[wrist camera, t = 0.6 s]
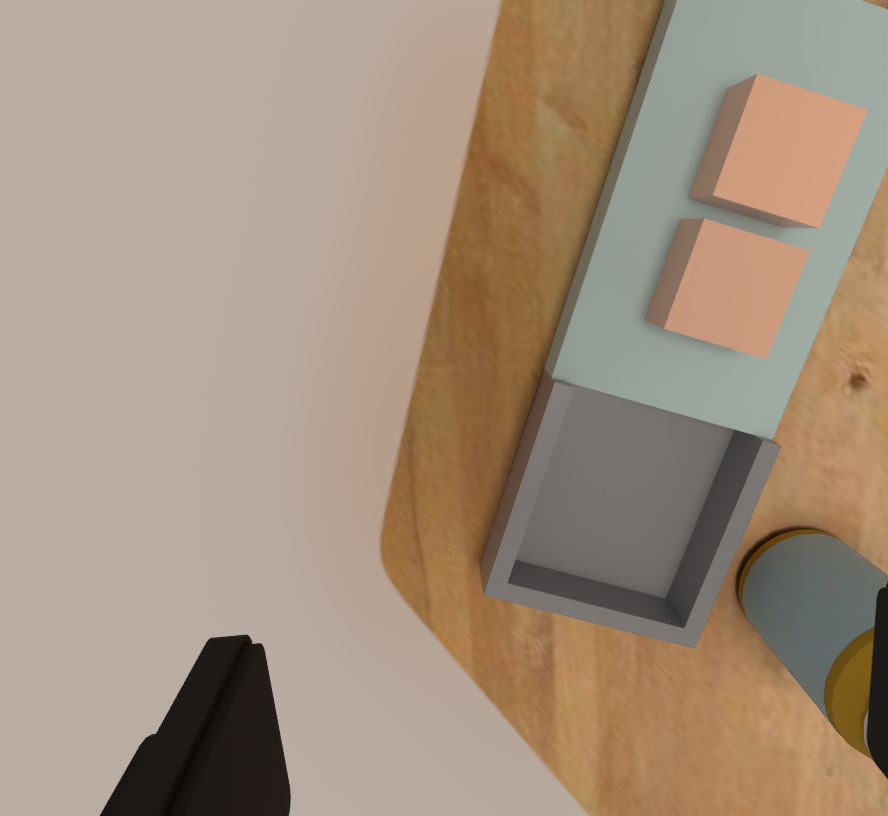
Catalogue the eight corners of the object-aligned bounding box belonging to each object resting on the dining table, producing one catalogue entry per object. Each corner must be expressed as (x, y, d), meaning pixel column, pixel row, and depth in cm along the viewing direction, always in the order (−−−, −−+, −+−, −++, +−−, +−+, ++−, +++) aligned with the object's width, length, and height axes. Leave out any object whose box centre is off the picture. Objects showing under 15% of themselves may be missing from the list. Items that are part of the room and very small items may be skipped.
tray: (544, 368, 37) (554, 382, 34) (750, 426, 38) (781, 446, 35) (479, 563, 40) (483, 595, 37) (673, 613, 41) (694, 648, 38)
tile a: (727, 87, 31) (757, 73, 29) (828, 120, 32) (867, 109, 29) (688, 198, 33) (712, 195, 30) (785, 228, 33) (819, 228, 30)
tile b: (680, 219, 33) (704, 218, 30) (777, 249, 33) (810, 251, 30) (644, 320, 34) (663, 328, 31) (738, 348, 34) (766, 358, 32)
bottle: (822, 645, 42) (1030, 867, 27) (715, 615, 41) (868, 827, 26) (873, 542, 40) (1123, 721, 25) (762, 510, 39) (953, 674, 25)
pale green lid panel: (676, -35, 32) (695, -57, 30) (908, 43, 33) (945, 29, 31) (544, 368, 37) (551, 377, 35) (750, 426, 38) (771, 440, 36)
